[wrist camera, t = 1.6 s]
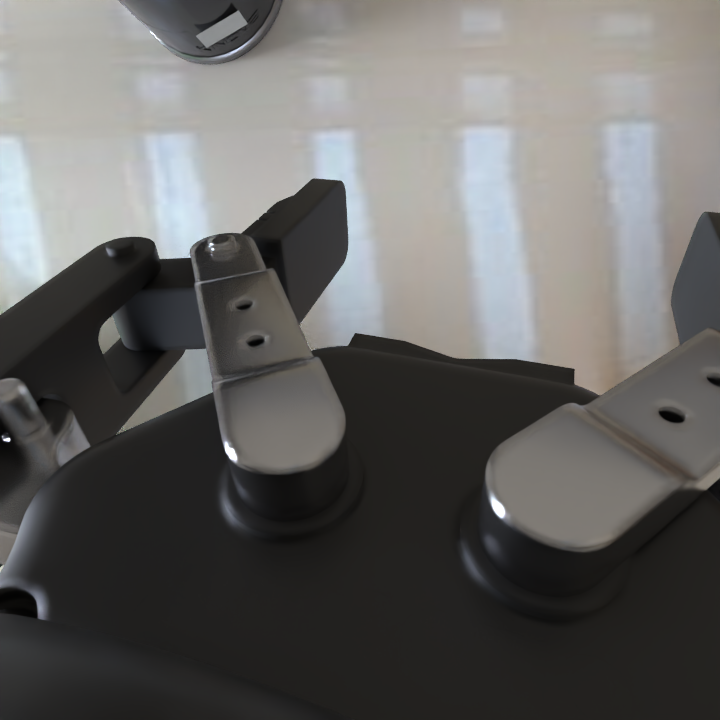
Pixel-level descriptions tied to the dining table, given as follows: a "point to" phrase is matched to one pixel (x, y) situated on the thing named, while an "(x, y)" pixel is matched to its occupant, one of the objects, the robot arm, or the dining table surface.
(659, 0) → the dining table surface
